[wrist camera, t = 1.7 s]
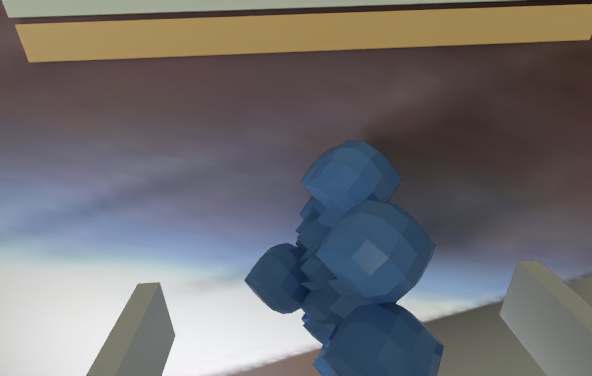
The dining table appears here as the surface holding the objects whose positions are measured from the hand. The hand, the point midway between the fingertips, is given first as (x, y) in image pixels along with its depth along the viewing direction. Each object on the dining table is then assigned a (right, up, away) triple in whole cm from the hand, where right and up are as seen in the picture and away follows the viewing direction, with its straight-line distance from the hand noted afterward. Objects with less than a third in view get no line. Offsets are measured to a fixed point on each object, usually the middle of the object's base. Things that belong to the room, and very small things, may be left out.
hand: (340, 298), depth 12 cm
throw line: (-1, +11, +3) cm, 12 cm away
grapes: (-1, +3, +7) cm, 8 cm away
